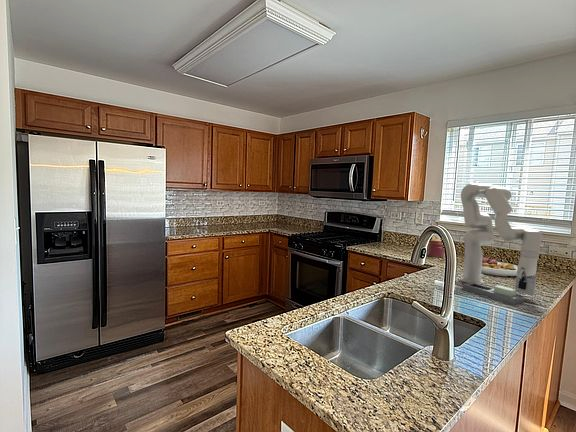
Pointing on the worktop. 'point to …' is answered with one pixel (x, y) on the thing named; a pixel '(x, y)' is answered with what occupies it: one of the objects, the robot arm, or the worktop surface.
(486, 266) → the bowl
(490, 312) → the worktop surface
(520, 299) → the gray rectangular tray
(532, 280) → the medicine box
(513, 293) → the green clip block
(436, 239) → the canister
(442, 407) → the worktop surface
